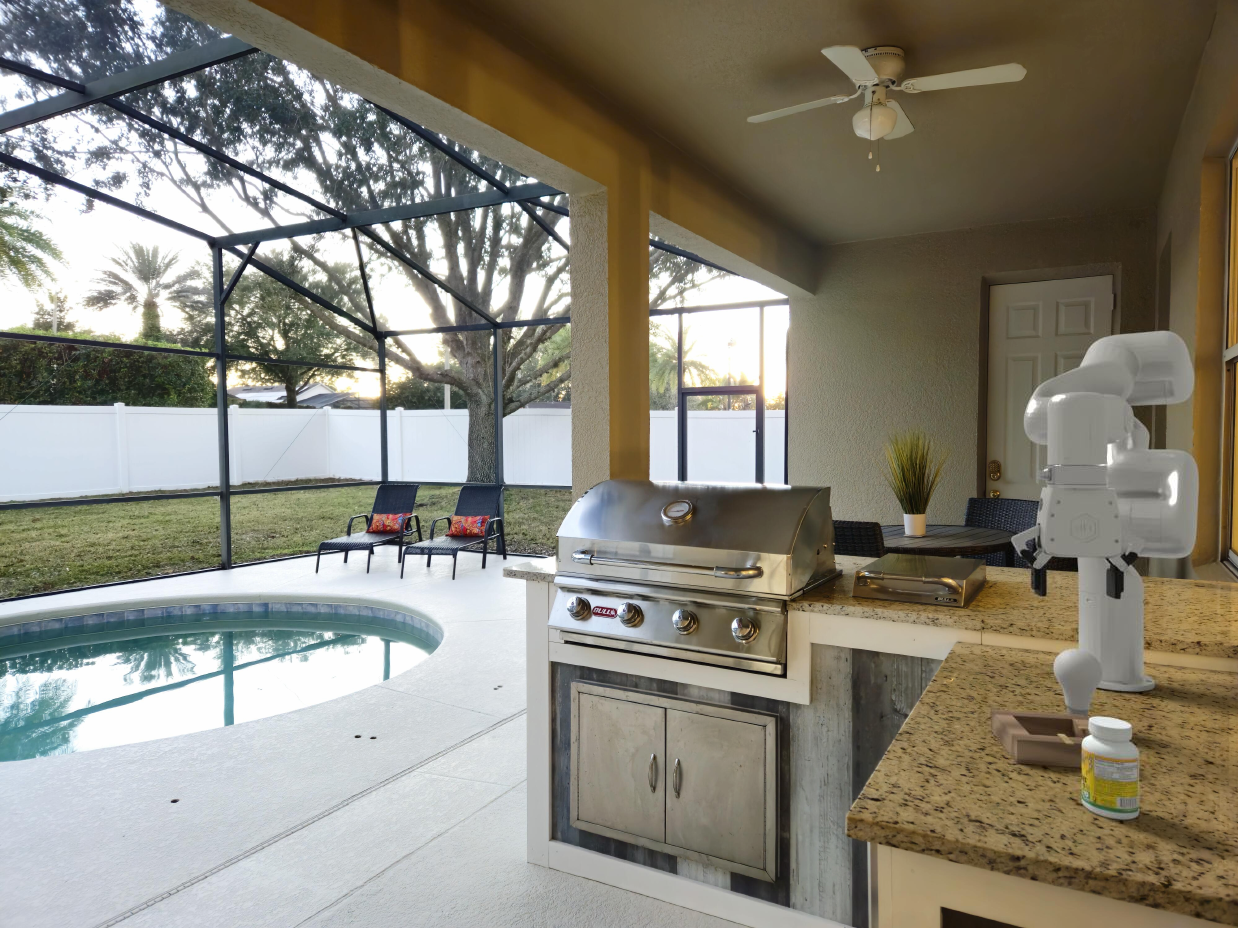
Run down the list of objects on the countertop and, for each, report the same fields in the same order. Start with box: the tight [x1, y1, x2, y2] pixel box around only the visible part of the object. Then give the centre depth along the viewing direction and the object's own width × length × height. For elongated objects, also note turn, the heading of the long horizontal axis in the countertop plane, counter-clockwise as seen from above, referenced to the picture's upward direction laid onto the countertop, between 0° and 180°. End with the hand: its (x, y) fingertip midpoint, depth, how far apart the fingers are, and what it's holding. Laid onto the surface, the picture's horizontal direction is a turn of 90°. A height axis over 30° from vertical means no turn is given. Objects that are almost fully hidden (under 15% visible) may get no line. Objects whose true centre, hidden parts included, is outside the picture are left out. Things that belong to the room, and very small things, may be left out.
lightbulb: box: [1053, 648, 1102, 719], centre depth 111 cm, size 6×6×11 cm
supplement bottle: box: [1081, 716, 1140, 821], centre depth 84 cm, size 5×5×10 cm
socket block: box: [990, 709, 1092, 769], centre depth 102 cm, size 12×12×3 cm
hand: (1076, 596), depth 111 cm, fingers open, 9 cm apart
